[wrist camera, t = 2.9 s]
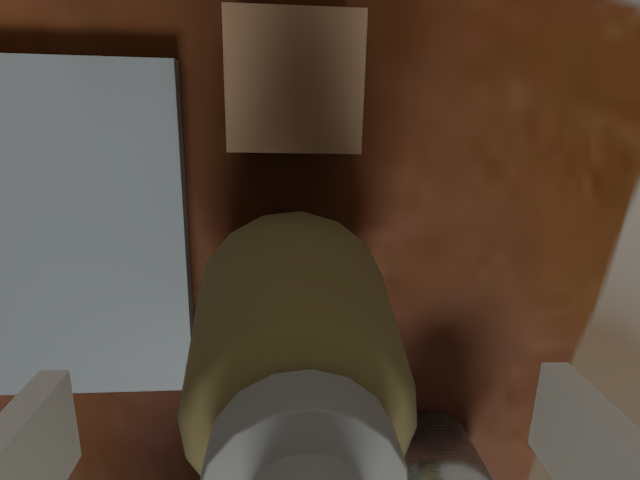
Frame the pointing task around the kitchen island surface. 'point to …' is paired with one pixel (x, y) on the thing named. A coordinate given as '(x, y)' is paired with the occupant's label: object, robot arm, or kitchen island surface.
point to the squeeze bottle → (296, 360)
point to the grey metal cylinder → (443, 450)
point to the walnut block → (294, 78)
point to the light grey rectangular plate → (93, 223)
